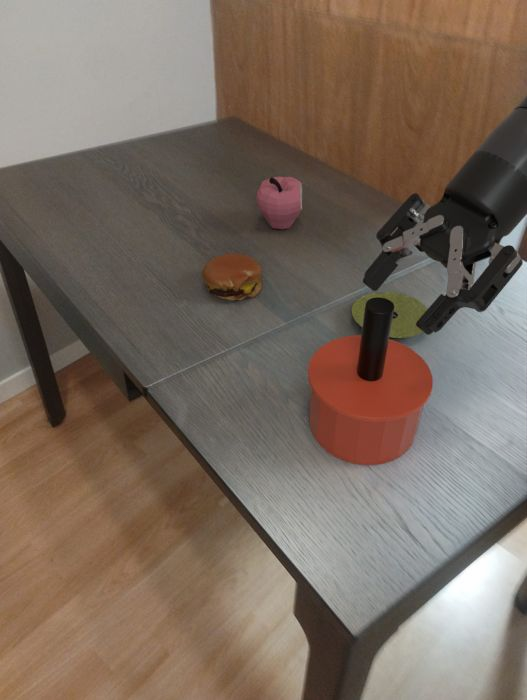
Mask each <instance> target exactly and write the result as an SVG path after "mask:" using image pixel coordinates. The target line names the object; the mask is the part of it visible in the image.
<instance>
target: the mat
mask: <svg viewBox="0 0 527 700" xmlns="http://www.w3.org/2000/svg"><path fill="white" fill-rule="evenodd" d="M375 297H381V298H385V299H388V300H390V301H391V302H392V303H393V304H394V313H393V319H392V324H391V330H390V336H389V338H394V339H406V338H411V337H414V336H418V335H420V334H422V333H424V332H423V331H422V330H421V329H420V328H418V327H417V326H416V323H417V321H418V320H419V319H420V317H421V316H422V315H423V314H424V313H425V312H426V311H427V309H428V308H427V306H426V305H425V304H423V302H421V301H420V300H418V299H416V298H414V297H412V296H409V295H407V294H402V293H398V292H393V291H380V292H372V293H368V294H364V295H363V296H360V297H359V298H357V300H356V301H354V303H353V304H352V308H351V316H352V318H353V320H354V321H355V322H356V323H357V324H358V325H359V326H360V327H361V328H363V320H364V312H365V305H366V302H367V301H368V300H369V299H371V298H375Z"/></svg>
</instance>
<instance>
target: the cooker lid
mask: <svg viewBox="0 0 527 700" xmlns="http://www.w3.org/2000/svg"><path fill="white" fill-rule="evenodd" d="M393 313H394V304H393V303H392V302H391V301H390V300H388V299H385V298H381V297H375V298H371V299H369V300H368V301H367V302H366V305H365V312H364V320H363V328H362V327H361V328H362V329H361V334H353V335H347V336H342V337H338V338H336V339H333V340H330V341H329V342H326V343H324V344H323V345H322V346H321V347H319V348H318V349H317V350H316V351H315V352H314V353H313V355H312V357H311V358H310V361H309V363H308V368H307V379H308V380H307V381H308V383H309V386H310V388H312V390H313V392H314V393H315V395H316V396H317V397H318V398H319V400H320V401H322V402H323V403H324V404H325V405H326V406H328V407H329V408H331V409H332V410H334V411H336V412H338V413H340V414H342V415H344V416H347V417H350V418H353V419H357V420H362V421H370V422H387V421H394V420H399V419H402V418H405V417H407V416H410V415H412V414H414V413H415V412H417V411H418V410H419V409H421V408H422V407H423V408H424V406H425V405H426V404H427V402H428V401H429V399H430V398H431V394H432V391H433V387H434V379H433V374H432V372H431V369H430V367H429V365H428V363H426V361H425V360H424V359H423V358H422V357H421V356H420V354H418V353H417V352H416V351H415V350H413V349H412V348H410V347H409V346H407V345H405V344H404V343H401V342H398V341H396V340H393V339H392V338H391V339H390V337H389V336H390V330H391V324H392V319H393Z"/></svg>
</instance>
